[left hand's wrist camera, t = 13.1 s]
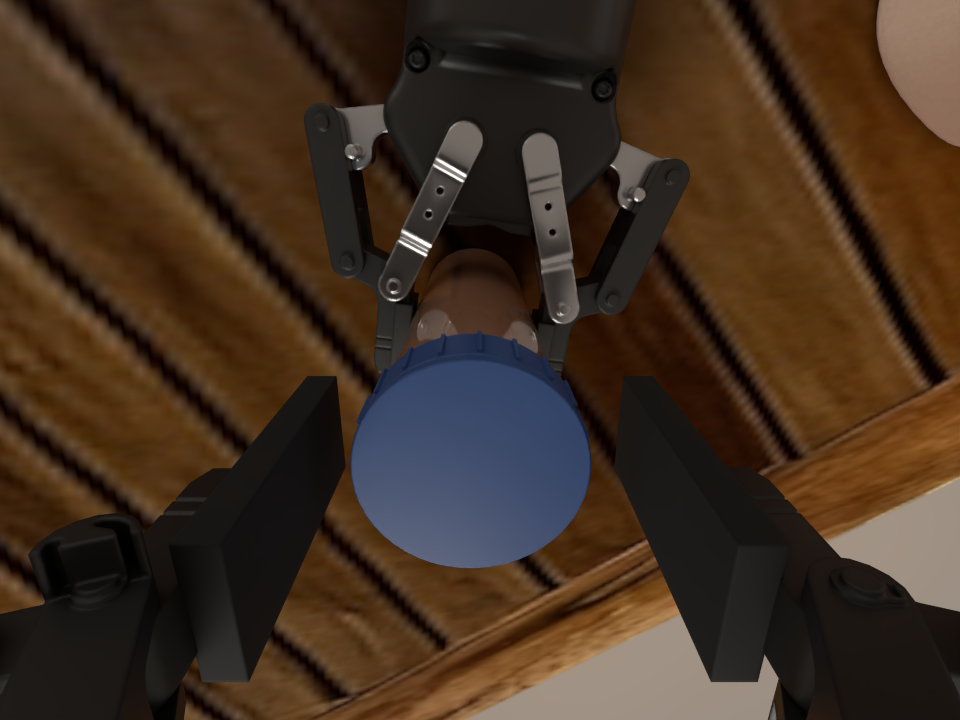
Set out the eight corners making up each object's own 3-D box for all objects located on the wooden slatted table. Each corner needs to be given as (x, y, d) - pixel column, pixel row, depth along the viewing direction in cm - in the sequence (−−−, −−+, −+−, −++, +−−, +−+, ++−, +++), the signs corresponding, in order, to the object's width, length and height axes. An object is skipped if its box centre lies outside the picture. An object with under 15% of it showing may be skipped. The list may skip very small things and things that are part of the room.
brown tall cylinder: (436, 238, 27) (383, 339, 11) (531, 260, 27) (606, 387, 12) (417, 329, 28) (348, 528, 13) (507, 349, 29) (545, 564, 13)
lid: (383, 307, 12) (368, 331, 11) (606, 357, 13) (627, 388, 11) (349, 500, 14) (331, 547, 12) (545, 537, 15) (554, 588, 13)
